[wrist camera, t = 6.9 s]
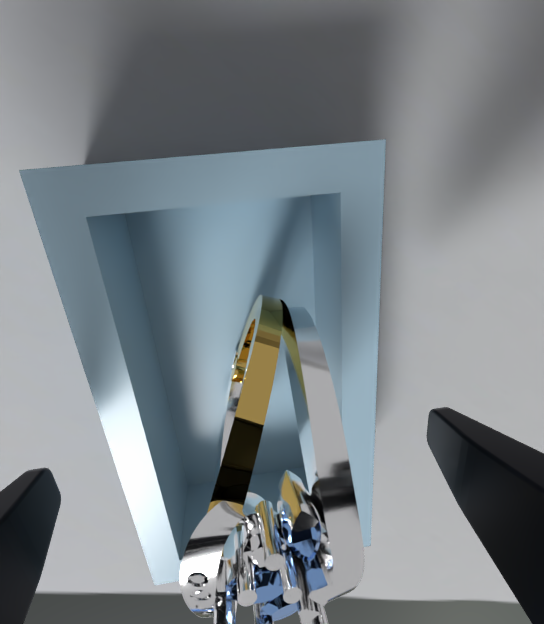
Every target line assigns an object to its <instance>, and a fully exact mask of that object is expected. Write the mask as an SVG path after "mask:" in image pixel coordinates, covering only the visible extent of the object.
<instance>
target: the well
mask: <svg viewBox="0 0 544 624" xmlns="http://www.w3.org/2000/svg"><path fill="white" fill-rule="evenodd" d="M385 147H386V139H384V140H372V141H360V142H349V143H337V144H325V145H313V146H301V147H289V148H277V149H265V150H253V151H241V152H230V153H218V154H206V155H194V156H182V157H170V158H158V159H146V160H134V161H122V162H111V163H99V164H87V165H75V166H63V167H51V168H39V169H27V170H19V172H20V175H21V178H22V181H23V184H24V187H25V190H26V193H27V196H28V199H29V202H30V205H31V208H32V211H33V214H34V218H35V221H36V224H37V227H38V230H39V233H40V236H41V239H42V242H43V245H44V248H45V251H46V254H47V257H48V260H49V263H50V267H51V270H52V273H53V276H54V279H55V282H56V285H57V288H58V291H59V294H60V297H61V300H62V303H63V306H64V309H65V312H66V315H67V319H68V322H69V325H70V328H71V331H72V334H73V337H74V340H75V343H76V346H77V349H78V352H79V355H80V358H81V361H82V364H83V368H84V371H85V374H86V377H87V380H88V383H89V386H90V389H91V392H92V395H93V398H94V401H95V404H96V407H97V410H98V413H99V417H100V420H101V423H102V426H103V429H104V432H105V435H106V438H107V441H108V444H109V447H110V450H111V453H112V456H113V459H114V462H115V465H116V469H117V472H118V475H119V478H120V481H121V484H122V487H123V490H124V493H125V496H126V499H127V502H128V505H129V508H130V511H131V514H132V518H133V521H134V524H135V527H136V530H137V533H138V536H139V539H140V542H141V545H142V548H143V551H144V554H145V557H146V560H147V563H148V567H149V570H150V573H151V576H152V579H153V582H154V585H160V584H165V583H171V582H176V581H180V571H181V564H182V559H183V555H184V552H185V549H186V547H187V544H188V542H189V540H190V538H191V536H192V534H193V532H194V530H195V529H196V527H197V526H198V524H199V523H200V522H201V520H202V519H203V518H204V517H205V515H206V514H207V512H208V508H209V505H210V501H211V498H212V494H213V491H214V482H215V471H216V461H217V452H218V444H219V436H220V429H221V422H222V416H223V410H224V404H225V399H226V394H227V389H228V384H229V379H230V375H231V371H230V368H231V363H232V359H233V355H234V352H235V350H238V347H239V344H240V341H241V337H242V334H243V331H244V328H245V325H246V323H247V320H248V317H249V315H250V312H251V310H252V307H253V305H254V303H255V301H256V299H257V298H258V296H259V295H265V296H269V297H273V298H278V299H282V300H286V301H290V302H293V303H297V304H300V305H302V306H303V307H304V308H305V309H306V310H307V311H308V313H309V314H310V316H311V318H312V319H313V322H314V324H315V326H316V329H317V331H318V334H319V337H320V340H321V343H322V346H323V350H324V353H325V356H326V360H327V363H328V367H329V371H330V374H331V378H332V382H333V386H334V390H335V394H336V398H337V403H338V407H339V411H340V416H341V421H342V425H343V430H344V435H345V441H346V446H347V451H348V457H349V462H350V468H351V474H352V480H353V486H354V491H355V497H356V503H357V509H358V514H359V520H360V526H361V532H362V539H363V546H364V547H366V546H371V521H372V495H373V468H374V441H375V414H376V388H377V361H378V334H379V308H380V281H381V254H382V227H383V201H384V174H385ZM286 470H289V471H291V472H292V473H294V474H295V475H297V476H298V477H299V478H300V479H301V480H302V483H303V485H304V488H305V489H306V490H307V491H308V492H309V489H308V483H307V478H306V472H305V467H304V461H303V455H302V449H301V444H300V438H299V432H298V426H297V420H296V415H295V409H294V403H293V397H292V391H291V386H290V380H289V374H288V368H287V363H286V357H285V351H284V346H283V342H282V337H281V341H280V348H279V354H278V360H277V365H276V371H275V376H274V381H273V386H272V391H271V396H270V400H269V405H268V410H267V414H266V419H265V423H264V427H263V431H262V436H261V440H260V444H259V448H258V452H257V456H256V460H255V464H254V468H253V472H252V476H251V484H250V492H251V493H255V494H257V495H259V496H261V497H262V498H263V499H264V500H268V501H270V502H271V503H272V505H273V510H274V511H275V512H276V513H278V512H277V502H278V497H279V494H280V492H279V488H278V485H279V482H280V480H281V477H282V475H283V474H284V472H285V471H286Z"/></svg>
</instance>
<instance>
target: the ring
mask: <svg viewBox="0 0 544 624" xmlns="http://www.w3.org/2000/svg"><path fill="white" fill-rule="evenodd" d="M281 337H282V342H283V346H284V351H285V357H286V363H287V368H288V374H289V380H290V386H291V391H292V397H293V403H294V409H295V415H296V420H297V426H298V432H299V438H300V444H301V449H302V455H303V461H304V467H305V472H306V478H307V483H308V489H309V492H308V491H307V490H306V489H305V488H304V485H303V483H302V480H301V479H300V478H299V477H298V476H297V475H295V474H294V473H292V472H291V471H289V470H286V471H285V472H284V474H283V475H282V477H281V480H280V482H279V485H278V488H279V492H280V494H279V497H278V502H277V512H278V513H276V512H275V511H274V510H273V505H272V503H271V502H270V501H268V500H264V499H263V498H262V497H261V496H259V495H257V494H255V493H251V492H250V484H251V476H252V472H253V468H254V464H255V460H256V456H257V452H258V448H259V444H260V440H261V436H262V431H263V427H264V423H265V419H266V414H267V410H268V405H269V400H270V396H271V391H272V386H273V381H274V376H275V371H276V365H277V360H278V354H279V348H280V341H281ZM230 371H231V375H230V379H229V384H228V389H227V394H226V399H225V404H224V410H223V416H222V422H221V429H220V436H219V444H218V452H217V461H216V471H215V482H214V491H213V494H212V498H211V501H210V505H209V508H208V512H207V514H206V515H205V517H204V518H203V519H202V520H201V522H200V523H199V524H198V526H197V527H196V529H195V530H194V532H193V534H192V536H191V538H190V540H189V542H188V544H187V547H186V549H185V552H184V555H183V559H182V564H181V571H180V586H181V591H182V595H183V598H184V600H185V602H186V604H187V606H188V607H189V609H190V610H191V611H192V612H193V613H194V614H196V615H197V616H199V617H214V624H235V615H236V608H237V601H238V603H239V604H240V605H242V606H249V605H252V604H253V609H254V619H255V624H274V623H273V621H276V620H280V619H282V618H285V617H287V616H289V615H291V614H293V613H295V612H296V611H297V610H298V614H299V617H300V622H301V623H303V624H328V621H327V617H326V613H325V609H324V605H325V604H326V603H327V602H330V601H332V600H334V599H336V598H338V597H340V596H342V595H344V594H347V593H349V592H351V591H352V590H354V589H355V588H356V587H357V586H358V584H359V583H360V581H361V579H362V576H363V572H364V546H363V539H362V532H361V526H360V520H359V514H358V509H357V503H356V497H355V491H354V486H353V480H352V474H351V468H350V462H349V457H348V451H347V446H346V441H345V435H344V430H343V425H342V421H341V416H340V411H339V407H338V403H337V398H336V394H335V390H334V386H333V382H332V378H331V374H330V371H329V367H328V363H327V360H326V356H325V353H324V350H323V346H322V343H321V340H320V337H319V334H318V331H317V329H316V326H315V324H314V322H313V319H312V318H311V316H310V314H309V313H308V311H307V310H306V309H305V308H304V307H303V306H302V305H300V304H297V303H293V302H290V301H286V300H282V299H278V298H273V297H269V296H265V295H259V296H258V298H257V299H256V301H255V303H254V305H253V307H252V310H251V312H250V315H249V317H248V320H247V323H246V325H245V328H244V331H243V334H242V337H241V341H240V344H239V347H238V350H235V352H234V355H233V359H232V363H231V368H230Z"/></svg>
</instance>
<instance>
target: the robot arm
mask: <svg viewBox="0 0 544 624" xmlns="http://www.w3.org/2000/svg"><path fill="white" fill-rule="evenodd" d="M427 442H428V445H429V447H430V449H431V451H432V453H433V455H434V457H435V459H436V461H437V463H438V465H439V467H440V469H441V471H442V473H443V475H444V477H445V479H446V481H447V483H448V485H449V487H450V489H451V491H452V493H453V495H454V497H455V499H456V501H457V503H458V505H459V507H460V508H461V510H462V512H463V513H464V515H465V517H466V518H467V520H468V521H469V523H470V525H471V526H472V528H473V529H474V531H475V533H476V534H477V536H478V537H479V539H480V541H481V542H482V544H483V545H484V547H485V549H486V550H487V552H488V553H489V555H490V557H491V558H492V560H493V562H494V563H495V565H496V566H497V568H498V570H499V571H500V573H501V574H502V576H503V578H504V579H505V581H506V582H507V584H508V586H509V587H510V589H511V590H512V592H513V594H514V595H515V597H516V598H517V600H518V602H519V603H520V605H521V606H522V608H523V609H524V611H525V613H526V615H527V616H528V618H529V619H530V621H531V623H532V624H544V453H542V452H540V451H537V450H535V449H533V448H531V447H529V446H527V445H525V444H523V443H521V442H519V441H517V440H515V439H513V438H511V437H508V436H506V435H504V434H502V433H500V432H498V431H496V430H494V429H492V428H490V427H488V426H486V425H484V424H482V423H479V422H477V421H475V420H473V419H471V418H469V417H467V416H465V415H463V414H461V413H459V412H457V411H455V410H453V409H450V408H448V407H443V408H436V409H432V410H431V411H430V412H429V418H428V427H427ZM60 504H61V495H60V491H59V489H58V487H57V484H56V482H55V479H54V477H53V475H52V472H51V471H50V470H49V469H48V468H40V469H33V470H29V471H26V472H25V473H24V474H22V475H21V476H20V477H19V478H17V479H16V480H15V481H13V482H12V483H11V484H10V485H8V486H7V487H6V488H5V489H3V490H2V491H1V492H0V624H23V623H24V621H25V618H26V615H27V613H28V610H29V607H30V604H31V602H32V599H33V597H34V594H35V591H36V588H37V586H38V583H39V580H40V577H41V574H42V570H43V567H44V563H45V560H46V556H47V552H48V549H49V545H50V541H51V537H52V534H53V530H54V526H55V523H56V519H57V515H58V512H59V508H60Z"/></svg>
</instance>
